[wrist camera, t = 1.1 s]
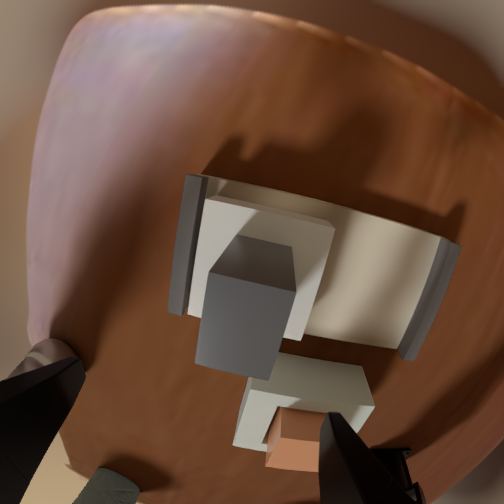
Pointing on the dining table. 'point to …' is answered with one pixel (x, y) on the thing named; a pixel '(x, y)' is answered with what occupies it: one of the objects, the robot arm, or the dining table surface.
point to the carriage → (254, 282)
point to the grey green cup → (108, 489)
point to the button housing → (302, 396)
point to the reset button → (294, 439)
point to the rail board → (340, 267)
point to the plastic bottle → (43, 356)
